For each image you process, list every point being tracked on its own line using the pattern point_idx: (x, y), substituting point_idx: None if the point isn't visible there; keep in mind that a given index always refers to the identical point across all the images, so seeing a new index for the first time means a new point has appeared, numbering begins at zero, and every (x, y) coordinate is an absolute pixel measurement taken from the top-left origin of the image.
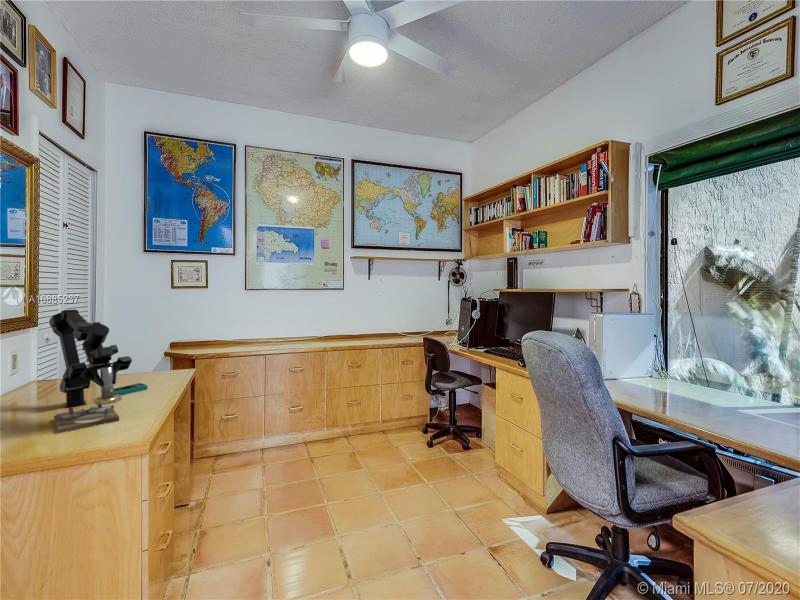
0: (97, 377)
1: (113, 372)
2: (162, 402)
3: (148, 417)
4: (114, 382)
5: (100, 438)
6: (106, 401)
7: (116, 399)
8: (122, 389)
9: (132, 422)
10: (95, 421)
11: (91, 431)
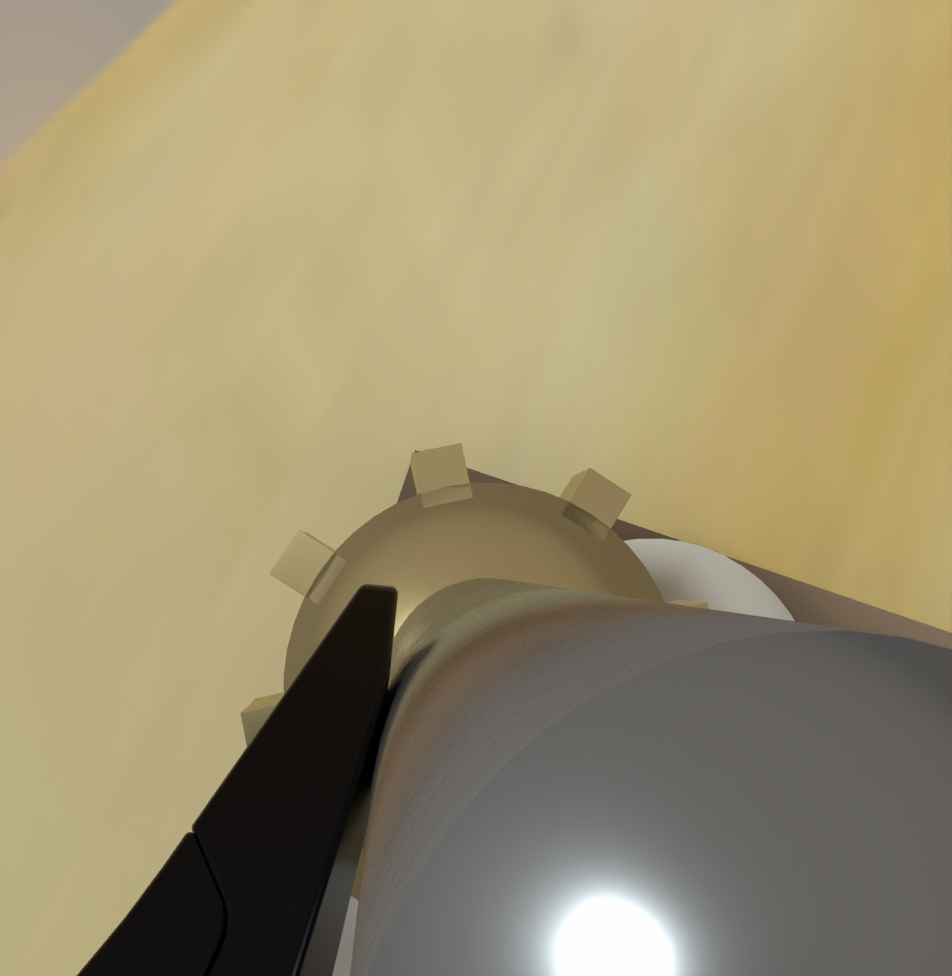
0: None
1: (260, 957)
2: None
3: (162, 236)
4: (395, 594)
5: (800, 72)
6: (598, 480)
7: (434, 452)
8: None
9: (370, 241)
10: (659, 536)
11: (755, 373)
